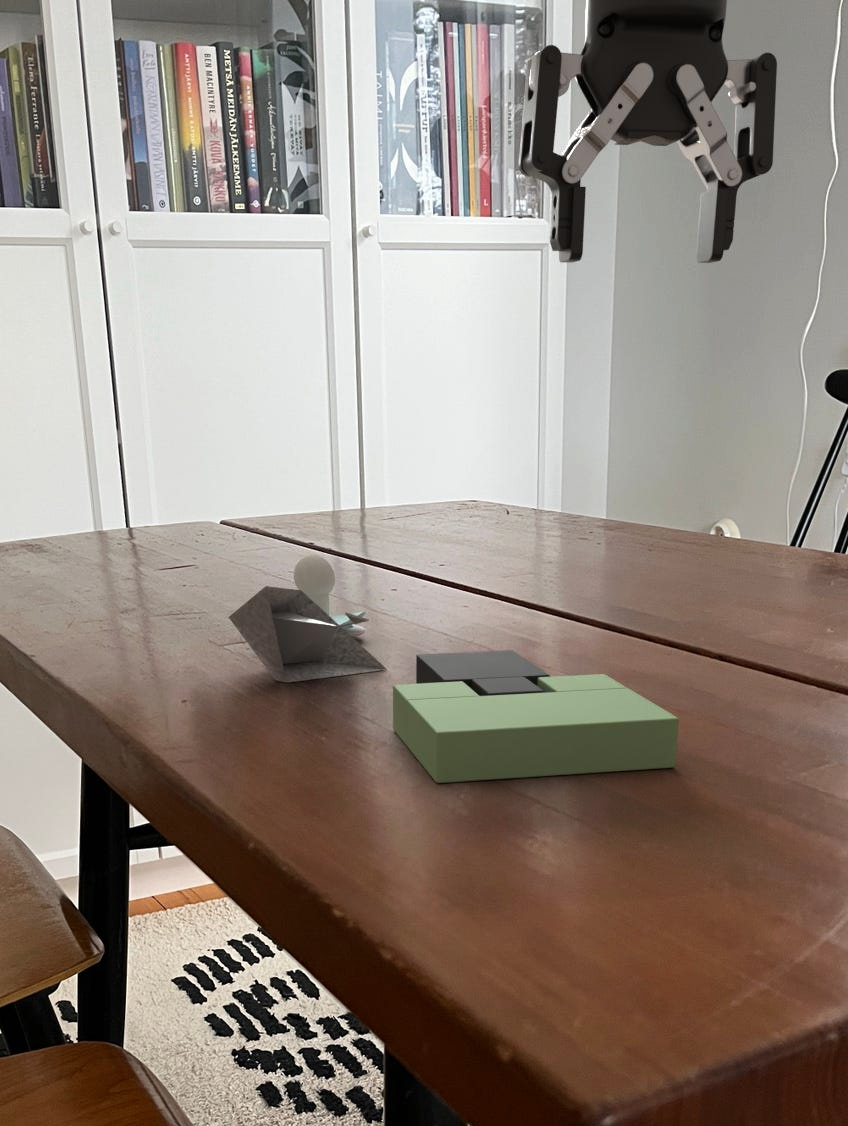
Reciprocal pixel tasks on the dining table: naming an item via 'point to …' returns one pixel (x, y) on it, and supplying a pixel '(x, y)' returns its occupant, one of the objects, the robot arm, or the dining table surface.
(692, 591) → the dining table surface
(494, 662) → the black pad
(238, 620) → the paper boat
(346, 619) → the pacifier
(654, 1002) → the dining table surface
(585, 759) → the green pad
